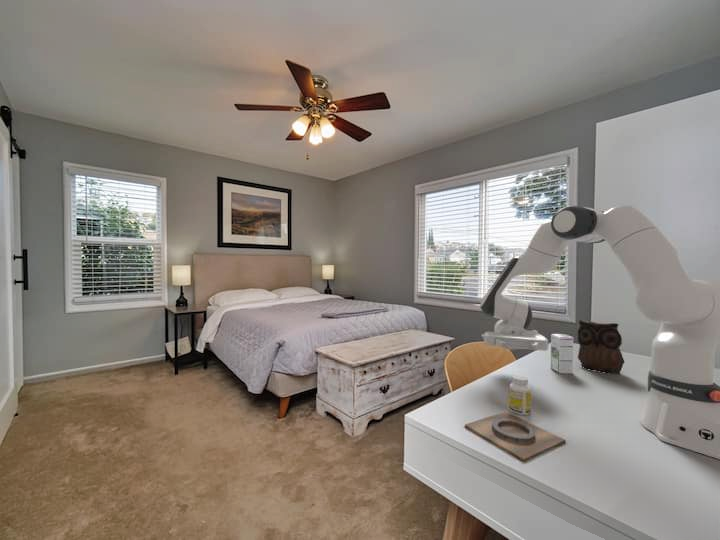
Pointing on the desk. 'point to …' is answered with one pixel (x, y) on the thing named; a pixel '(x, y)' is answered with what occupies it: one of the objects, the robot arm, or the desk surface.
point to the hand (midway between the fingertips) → (518, 346)
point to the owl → (600, 346)
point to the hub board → (515, 435)
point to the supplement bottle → (519, 395)
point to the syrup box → (562, 353)
